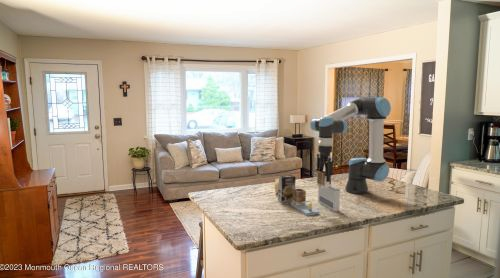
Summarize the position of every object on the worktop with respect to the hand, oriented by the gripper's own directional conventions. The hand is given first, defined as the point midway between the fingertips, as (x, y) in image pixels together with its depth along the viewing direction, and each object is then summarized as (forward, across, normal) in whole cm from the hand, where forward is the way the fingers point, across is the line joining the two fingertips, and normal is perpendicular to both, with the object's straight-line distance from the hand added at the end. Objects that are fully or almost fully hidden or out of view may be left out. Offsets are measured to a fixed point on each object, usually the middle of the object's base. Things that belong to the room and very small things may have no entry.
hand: (323, 185), depth 189 cm
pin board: (+15, -7, -8) cm, 18 cm away
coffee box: (+15, -24, -12) cm, 30 cm away
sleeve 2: (0, 0, 0) cm, 0 cm away
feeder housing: (+15, -7, +8) cm, 18 cm away
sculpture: (+15, -40, -7) cm, 43 cm away
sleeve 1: (+14, -13, -8) cm, 21 cm away
